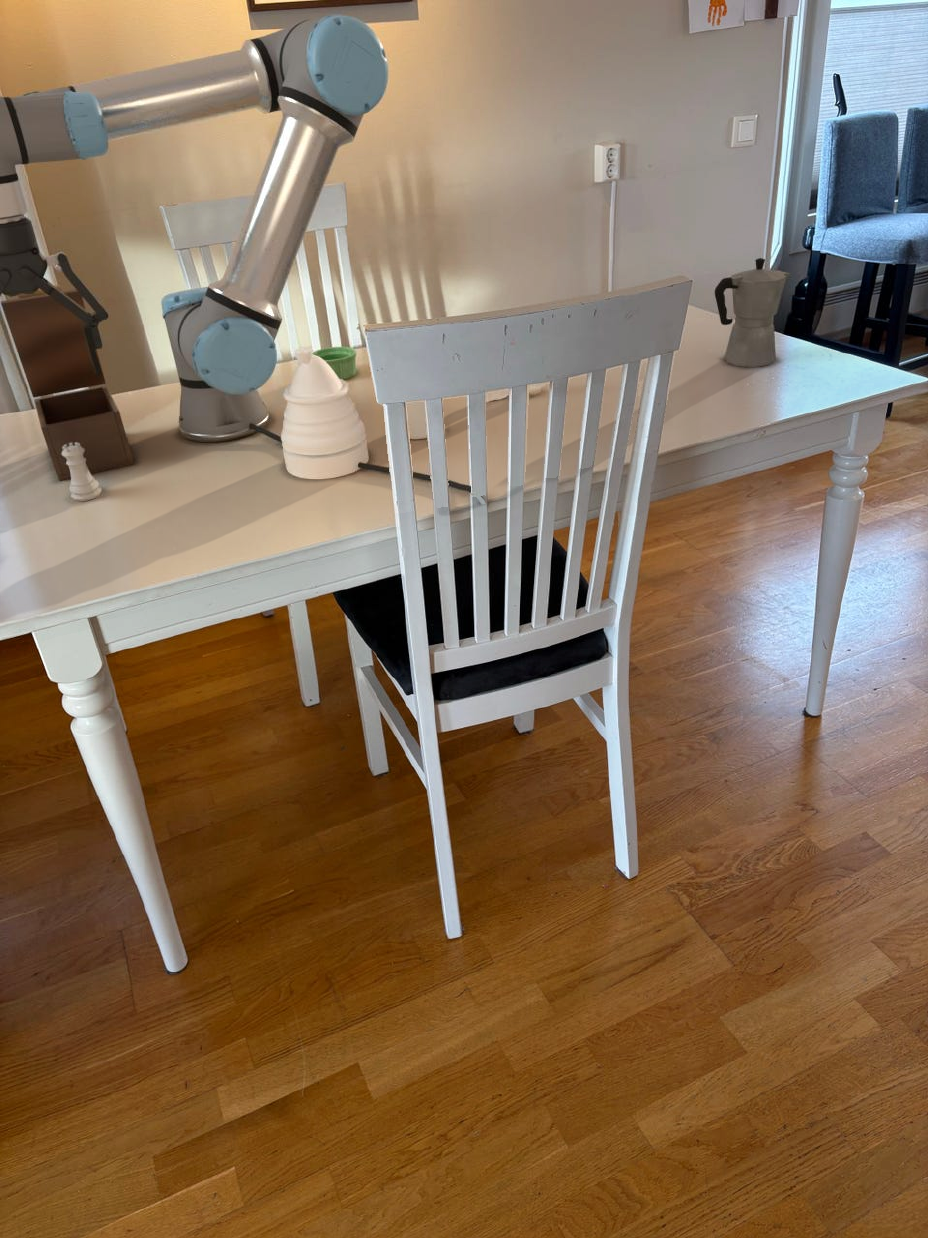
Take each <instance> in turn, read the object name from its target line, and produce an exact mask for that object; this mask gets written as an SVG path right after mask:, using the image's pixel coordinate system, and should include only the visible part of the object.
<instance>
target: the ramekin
mask: <svg viewBox="0 0 928 1238" xmlns="http://www.w3.org/2000/svg"><path fill="white" fill-rule="evenodd" d="M313 355H316V356H318V357H320V358H322V359H323V360H324V361H325V362H326V363H327V364H328V365H329V366H330V367H331V368H332V370H333V371H334V372H335V374H336V375H337V377H338V378H339V379H342V380H344V381H346V380H348V379H351V378H352V377H354V376H355V375H356V373H357V363H356V362H357V361H356V356H357V351H356V350H355V349H354V348H352V347H347V346H330V347H325V348H321V349H317V350H315V351H313Z"/></svg>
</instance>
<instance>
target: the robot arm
mask: <svg viewBox="0 0 928 1238" xmlns="http://www.w3.org/2000/svg"><path fill="white" fill-rule="evenodd" d="M388 81H389V64H388V58H387V55H386V51H385V49H384V45H383V43H382V41H381V40H380V38H379V37H378V35H377V34H376V33H375V31H374V30H373V29H372V28H371V27H370V26H369V25H368V24H367V23H366V22H364V21H363V20H360V19H359V18H357V17H353V16H349V15H344V14H338V13H334V14H329V15H325V16H324V17H322V18H315V19H314V18H312V19H306V20H301V21H299V22H296V23H294V24H292V25H289V26H287V27H284V28H282V29H280V30H277V31H274V32H271V33H268V34H266V35H263V36H258V37H254V38H250V39H245V40H244V41H243V43H242V45H241V48H240V49H238V50H234V51H233V50H232V51H228V52H224V53H220V54H214V55H209V56H205V57H199V58H196V59H191V60H185V61H181V62H176V63H171V64H166V65H162V66H157V67H153V68H147V69H143V70H138V71H134V72H128V73H124V74H118V75H114V76H109V77H105V78H100V79H95V80H90V81H86V82H81V83H77V84H72V85H70V86H69V85H68V86H62V87H58V88H53V89H48V90H47V89H46V90H42V91H39V90H37V91H30V92H27V93H24V94H23V95H21V96H10V97H9V96H0V297H1V296H2V295H4V296H8V297H11V298H13V297H18V296H17V295H19V294H33V293H34V292H36V291H37V290H38V289H41V290H42V291H43V292H45V293H46V294H48V295H49V296H51V297H52V298H53V299H55V300H56V301H57V302H59V303H60V304H61V305H63V306H64V307H65V308H67V309H68V310H69V311H70V312H72V313H73V314H74V315H76V316H77V317H78V318H80V319H81V320H82V321H84V322H85V323H86V324H85V325H82V327H83V331H84V334H85V338H86V341H87V345H88V349H89V352H90V356H91V359H92V363H93V367H94V370H95V373H96V375H100V374H102V373H101V369H100V365H99V362H98V358H97V355H96V351H95V349H97V350H101V349H103V341H102V338H101V335H100V330H99V324H100V323H101V322H103V321H106V320H108V319H109V313H108V311H107V310H106V308H105V307H104V306H103V305H102V303H101V302H100V301H99V300H98V299H97V298H96V296H95V295H94V294H93V292H92V291H91V290H90V289H89V287H88V286H87V285H86V284H85V283H84V282H83V280H82V279H81V278H80V277H79V276H78V274H77V273H76V272H75V271H74V269H72V267H71V265H70V262H69V259H68V256H67V255H66V253H65V252H64V251H62V250H58V251H57V252H56V253H55V254H51V255H48V256H44V255H43V254H42V252H41V251H40V247H39V244H38V240H37V236H36V233H35V230H34V227H33V223H32V220H31V219H29V218H28V217H26V216H25V215H27V214H28V212H29V210H28V206H27V203H26V199H25V195H24V193H23V192H24V191H23V189H22V186H21V182H20V179H19V175H18V173H17V168H16V166H18V165H28V164H38V163H50V162H51V163H52V162H62V161H72V160H82V161H86V160H87V159H90V158H99V157H103V156H105V155H106V154H108V151H109V144H110V142H114V141H118V140H121V139H126V138H131V137H135V136H139V135H144V134H148V133H153V132H156V131H160V130H161V131H162V130H166V129H169V128H175V127H179V126H185V125H187V124H192V123H196V122H201V121H205V120H211V119H215V118H219V117H222V116H227V115H231V114H236V113H241V112H245V111H249V110H254V109H257V110H258V111H260V112H261V113H262V114H265V115H266V114H270V113H275V112H280V111H281V115H282V119H281V121H280V124H279V126H278V129H277V131H276V135H275V137H274V140H273V143H272V145H271V148H270V150H269V154H268V156H267V159H266V161H265V163H264V167H263V169H262V172H261V174H260V177H259V180H258V183H257V186H256V187H255V191H254V193H253V196H252V199H251V201H250V205H249V207H248V209H247V212H246V215H245V218H244V220H243V223H242V225H241V228H240V231H239V234H238V236H237V238H236V242H235V245H234V247H233V250H232V252H231V256H230V258H229V261H228V263H227V266H226V269H225V271H224V274H223V277H222V278H221V279H220V280H217V281H214V282H212V283H209V284H208V286H204V287H203V286H202V287H197V288H190V289H185V290H180V291H176V292H172V293H168V294H166V295H164V296H163V297H162V299H161V304H160V305H161V311H162V319H164V323H165V327H166V332H167V335H168V339H169V343H170V347H171V351H172V356H173V360H174V364H175V368H176V372H177V376H178V381H179V385H180V399H179V415H178V426H179V431H180V435H181V437H183V438H185V439H187V440H189V441H194V442H202V443H215V442H216V443H217V442H226V441H231V440H236V439H241V438H244V437H247V436H251V435H253V434H255V433H260V434H262V435H264V436H266V437H268V438H271V439H272V440H274V441H276V442H278V443H281V444H282V440H281V435H278V434H276V433H274V432H272V431H270V430H268V429H265V427H267V425H268V424H269V423H270V415H269V411H268V407H267V405H266V404H265V402H264V401H263V399H262V397H261V395H260V393H259V391H258V389H260V388H261V387H262V386H264V385H265V384H266V383H268V381H269V380H270V378H271V377H272V375H273V373H274V371H275V368H276V366H277V361H278V351H277V345H276V343H275V342H276V341H275V340H276V338H277V335H278V332H279V330H280V327H281V325H282V322H283V316H282V314H281V312H280V308H279V305H278V304H279V301H280V299H281V296H282V293H283V292H284V289H285V286H286V283H287V282H288V281H287V280H288V279H289V276H290V273H291V271H292V268H293V265H294V263H295V260H296V258H297V256H298V252H299V250H300V248H301V245H302V242H303V240H304V237H305V234H306V232H307V230H308V227H309V225H310V222H311V220H312V217H313V215H314V212H315V210H316V207H317V204H318V201H319V199H320V196H321V194H322V192H323V189H324V187H325V184H326V181H327V178H328V176H329V173H330V171H331V168H332V166H333V164H334V160H335V158H336V156H337V153H338V150H339V149H340V148H341V147H343V146H345V145H348V144H349V143H353V142H354V140H355V137H356V135H357V132H358V131H359V130H358V129H359V127H360V125H361V122H362V121H363V118H364V115H365V114H368V113H370V112H371V111H372V110H373V109H374V108H375V107H377V106H378V105H379V103H380V102H381V101H382V99H383V97H384V95H385V93H386V90H387V87H388ZM48 267H53V268H54V270H55V271H56V272H62V273H63V275H64V277H66V279H67V280H68V282H70V284H71V285H72V286H73V287H74V289H75V290H77V291H78V292H79V293H80V294H81V296H82V298H83V300H85V302H87V304H88V305H89V307H91V309H92V310H93V311H94V312H91V313H90V312H89V311H88V310H87V309H86V308H85V309H86V310H85V309H84V308H82V307H81V306H80V305H79V304H77V303H76V302H75V301H73V300H72V299H71V298H69V297H68V296H67V295H65V294H64V293H63V290H61V291H60V290H59V289H58V288H56V287H55V285H54V284H53V283H52V282H50V281H49V280H48V279H47V278H45V275H46V272H47V270H48ZM358 467H359V468H361V469H364V470H368V471H369V470H370V471H374V472H380V473H381V472H382V473H386V474H390V473H389V468H390V467H388V466H383V465H376V464H371V463H361V462H360V463H358ZM412 472H413V477H412V478H413V479H419V480H423V481H428V482H432V481H431V479H430V474H426V473H421V472H416V471H412ZM448 480H449V481H448V483H449V486H448V487H449V488H453V489H456V490H460V491H465V492H468V493H470V494H471V486H472V485H469V484H463V483H460V482H456V481H453V480H451V479H448Z"/></svg>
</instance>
